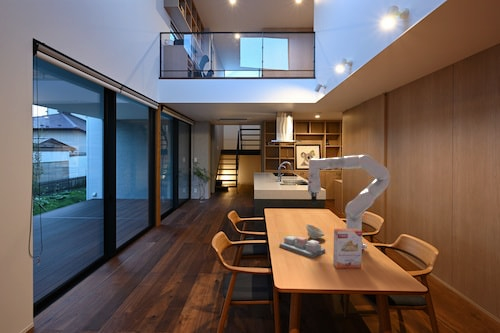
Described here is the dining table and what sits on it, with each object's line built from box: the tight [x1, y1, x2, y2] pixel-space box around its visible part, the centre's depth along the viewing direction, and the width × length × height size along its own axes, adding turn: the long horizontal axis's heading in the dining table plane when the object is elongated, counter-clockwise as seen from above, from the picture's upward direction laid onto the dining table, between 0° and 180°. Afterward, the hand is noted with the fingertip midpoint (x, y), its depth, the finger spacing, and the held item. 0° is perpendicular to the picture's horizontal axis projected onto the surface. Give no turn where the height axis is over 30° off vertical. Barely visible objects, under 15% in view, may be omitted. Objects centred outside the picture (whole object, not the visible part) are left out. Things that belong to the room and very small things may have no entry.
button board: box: [279, 235, 326, 259], centre depth 169 cm, size 26×15×6 cm, turn 41°
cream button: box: [307, 239, 320, 247], centre depth 162 cm, size 5×5×3 cm
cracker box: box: [332, 228, 363, 269], centre depth 143 cm, size 14×6×21 cm, turn 93°
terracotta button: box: [296, 236, 308, 243], centre depth 169 cm, size 5×5×3 cm
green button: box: [285, 235, 296, 240], centre depth 176 cm, size 5×5×3 cm
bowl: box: [305, 224, 325, 240], centre depth 191 cm, size 15×14×10 cm
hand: (313, 201), depth 184 cm, fingers closed
